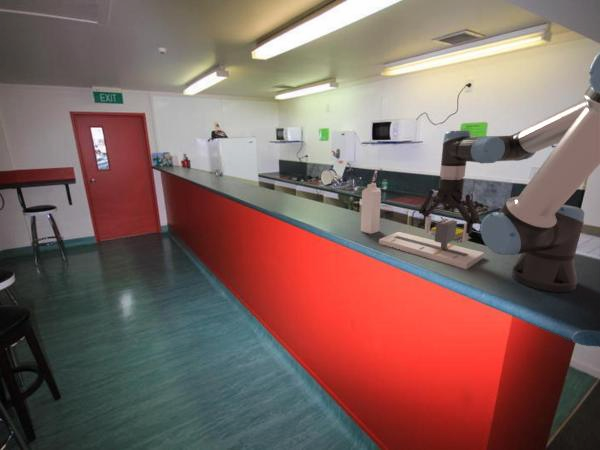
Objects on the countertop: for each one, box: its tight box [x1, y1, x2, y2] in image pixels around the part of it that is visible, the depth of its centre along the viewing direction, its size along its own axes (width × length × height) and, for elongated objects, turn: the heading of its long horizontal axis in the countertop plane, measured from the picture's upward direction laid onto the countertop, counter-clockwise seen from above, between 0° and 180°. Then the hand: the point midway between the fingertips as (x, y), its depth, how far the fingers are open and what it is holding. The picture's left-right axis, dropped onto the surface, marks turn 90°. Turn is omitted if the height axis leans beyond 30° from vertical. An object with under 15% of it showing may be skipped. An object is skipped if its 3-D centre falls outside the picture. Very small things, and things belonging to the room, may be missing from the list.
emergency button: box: [427, 226, 472, 243], centre depth 130 cm, size 9×4×15 cm
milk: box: [360, 182, 382, 235], centre depth 136 cm, size 6×6×22 cm
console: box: [378, 231, 485, 270], centre depth 115 cm, size 34×14×2 cm, turn 40°
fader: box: [434, 218, 458, 249], centre depth 108 cm, size 4×7×10 cm, turn 130°
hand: (445, 237), depth 109 cm, fingers open, 13 cm apart
